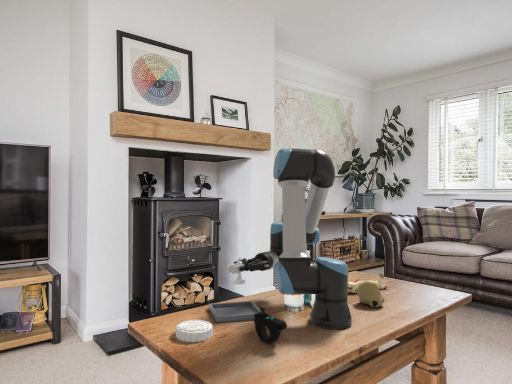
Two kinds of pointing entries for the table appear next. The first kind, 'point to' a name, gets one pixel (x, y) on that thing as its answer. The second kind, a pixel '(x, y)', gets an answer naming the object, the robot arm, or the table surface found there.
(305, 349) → the table surface
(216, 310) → the tray
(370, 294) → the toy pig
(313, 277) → the robot arm
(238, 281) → the chess piece
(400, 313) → the table surface
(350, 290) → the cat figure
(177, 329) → the mooncake
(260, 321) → the controller
